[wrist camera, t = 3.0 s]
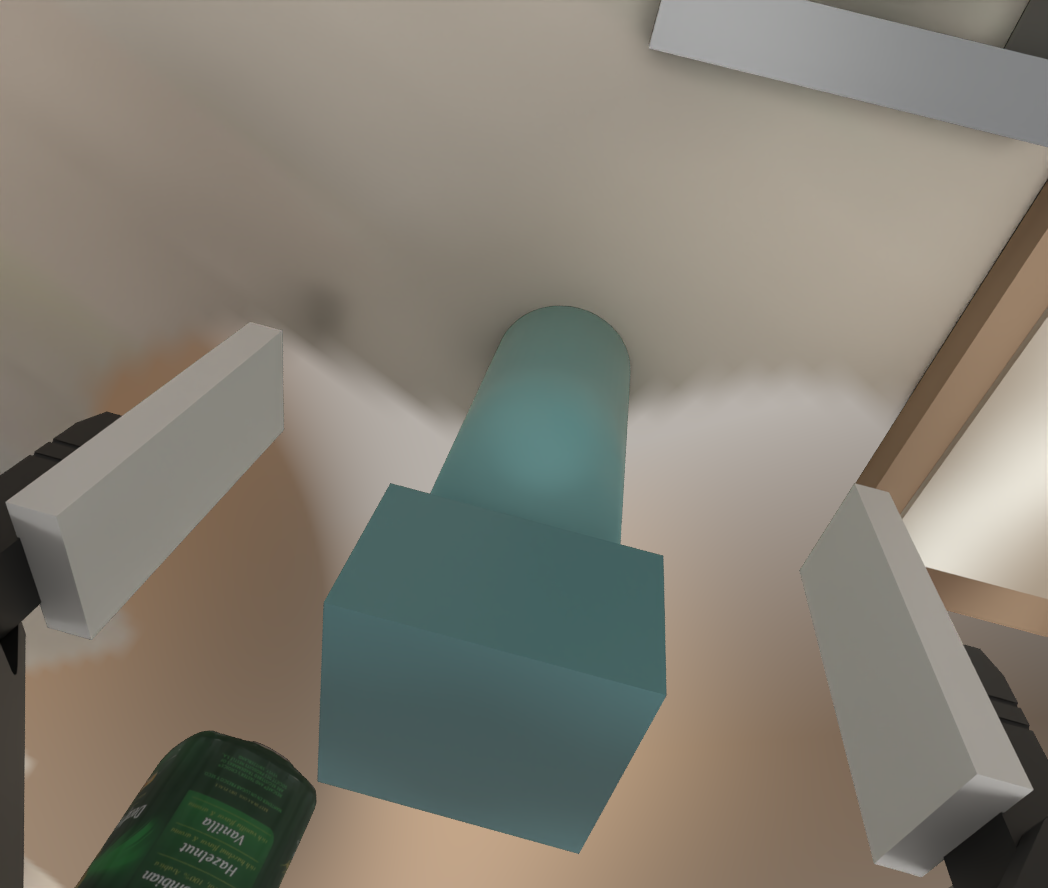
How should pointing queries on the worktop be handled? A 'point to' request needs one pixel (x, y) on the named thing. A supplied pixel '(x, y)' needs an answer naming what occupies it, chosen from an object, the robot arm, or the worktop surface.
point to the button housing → (873, 59)
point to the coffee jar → (209, 820)
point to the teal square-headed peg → (504, 606)
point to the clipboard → (983, 445)
